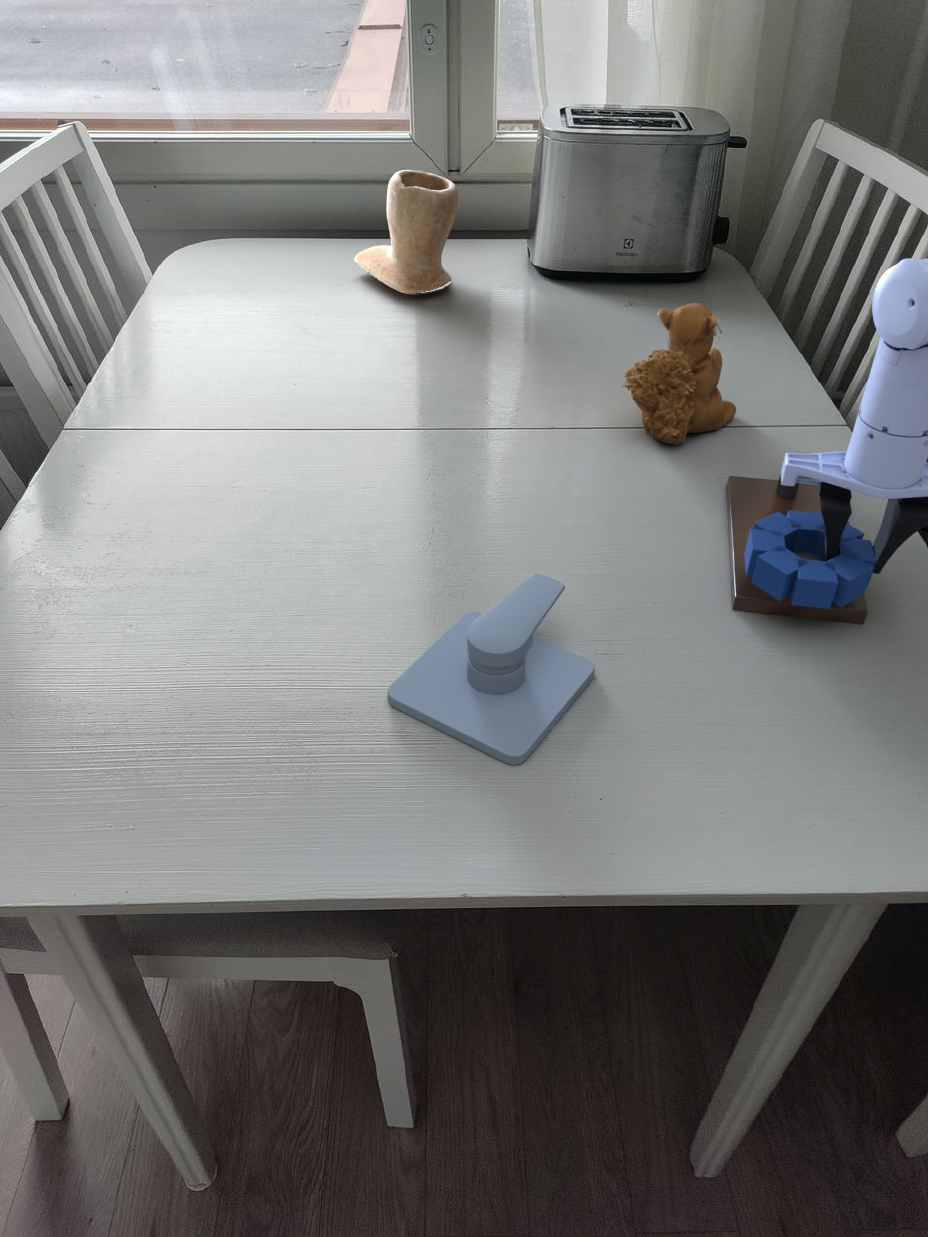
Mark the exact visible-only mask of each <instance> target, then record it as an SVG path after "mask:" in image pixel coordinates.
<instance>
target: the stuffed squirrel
mask: <svg viewBox="0 0 928 1237" xmlns="http://www.w3.org/2000/svg"><path fill="white" fill-rule="evenodd" d="M657 317H658V319H659V320H660V322H661V323H662V325H663V327H664V328H665V329H666V330H667V333H668V335H667V336H668V337H667V338H668V339H667V346H668V350H667V349H664V348H663V349H662V348H661V349H655V350H652V351H651V354H649V355H648V356H647V359H643V360H641V361H638V362H634V366H633V367H631V368H629V369H627V370H626V371H625V372H623V373H622V374H623V375H624V376H623V377H624V378H625V382H626V383H625V384H621V387H622V388H624V387H625V388H627V390H628V391H630V397H631V398H632V400H633V401H634V404H636V407H638V408H639V409H640V411H641V415H642V416H641V420H642V421H641V422H642V427H643V431H644V432H645V434H646V435H647V436H649V437H651V438H652V439H653V440H657V441H661V442H663V443H664V444H669V445H675V446H679V445H681V444H682V443H683V442H684V441H686V438H687V435H688V434H698V433H706V432H711V431H718V430H720V429H721V428H722V427H724V426H725V425H726V424H728V423H729V422H730V421H731V420H732V419H733V418H734V416H735V415H736V413H737V407H736V405H735V403H734V402H732V401H730V400H723V397H722V393H721V392H720V390H719V388H718V384H719V383H720V378H721V373H722V369H723V357H722V353H721V351H720V349H718V348H714V347H713V343H714V337H716V336H717V332H716V328H718V331H719V333H720V334H721V335H722V334H723V330H722V329H721V327H720V326H719V322H720V319H719V317H717V316H716V315H713V314H712V311H711V310H710V309H708V307H707V306H705V305H704V304H702V303H698V302H691V303H688V304H685V305H682V306H680V307H677V308H675V309H674V311H670V310H668V309H666V308H661V309H659V311H658V313H657Z"/></svg>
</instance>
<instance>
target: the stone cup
mask: <svg viewBox="0 0 928 1237" xmlns="http://www.w3.org/2000/svg"><path fill="white" fill-rule="evenodd" d="M387 184H388V185H387V194H386V219H387V224H388V225H387V226H388V230H389V236H390V237H389V238H390V245H385V244H384V245H375V246H371V247H368V248H366V249H363V250H362V251H359V252H358V253H356V255H355V256H354V259H353V260H354V261H353V262H354V263H355V264H356V265H357V266H359V267H360V266H361V267H360V268H362V270H364V269H365V270H366V271H365V270H364V271H365V272H367V273H368V272H369V273H370V274H369V273H368V274H369V275H370V276H372V277H374V278H375V279H376V278H377V279H376V280H378V281H379V282H381V283H382V284H384V285H386V286H387V287H389V288H391V289H393V290H395V291H397V292H399V293H402V294H405V295H417V294H416V293H421V292H426V291H431V290H434V289H437V288H439V287H442V286H444V285H445V284H447V283H448V282H450V281H451V279H452V277H451V276H450V274H449V273H448V272H447V271H446V270H445V268H444V267H443V264H442V254H443V251H444V248H445V245H446V243H447V240H448V238H449V235H450V232H451V230H452V228H453V225H454V221H455V218H456V215H457V210H458V203H459V192H458V188H457V186H456V184H455V183H454V182H452V180H450V179H447V178H445V177H443V176H440V175H437V174H434V173H429V172H425V171H422V170H417V169H416V170H415V169H403V170H399V171H397V172H395V173H394V174H393V175H392V177H391V178H390V179H389V181H388V183H387ZM445 288H448V286H445ZM445 288H443V289H441V290H438V291H442V290H444V289H445ZM438 291H437V292H438ZM434 292H436V291H434ZM434 292H433V293H434ZM431 293H432V292H430V293H429V294H431ZM424 294H425V295H426V294H427V293H424ZM424 294H423V295H424Z"/></svg>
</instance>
